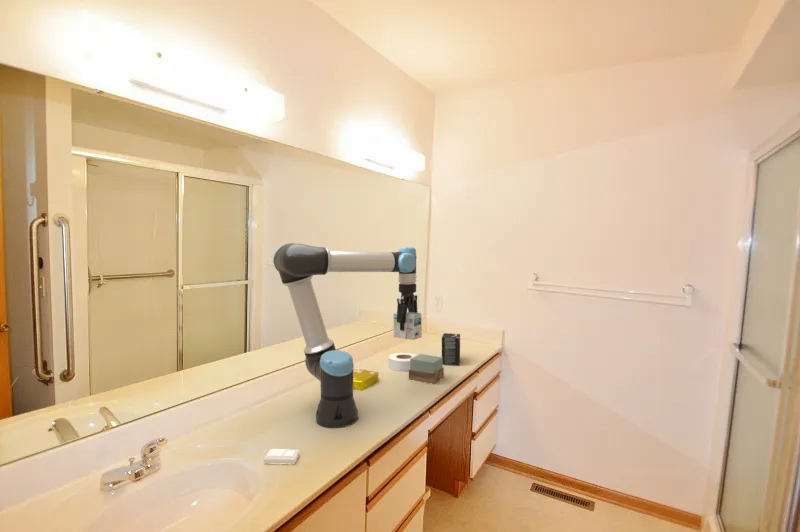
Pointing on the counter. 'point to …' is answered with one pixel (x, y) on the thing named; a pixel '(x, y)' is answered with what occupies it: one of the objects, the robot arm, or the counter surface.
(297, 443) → the counter surface
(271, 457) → the soap bar
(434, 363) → the grey-green top block
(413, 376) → the walnut base block
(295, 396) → the counter surface
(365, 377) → the element tile
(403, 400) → the counter surface
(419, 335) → the light bulb box
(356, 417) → the robot arm
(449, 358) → the tampon box
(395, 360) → the roll of tape
